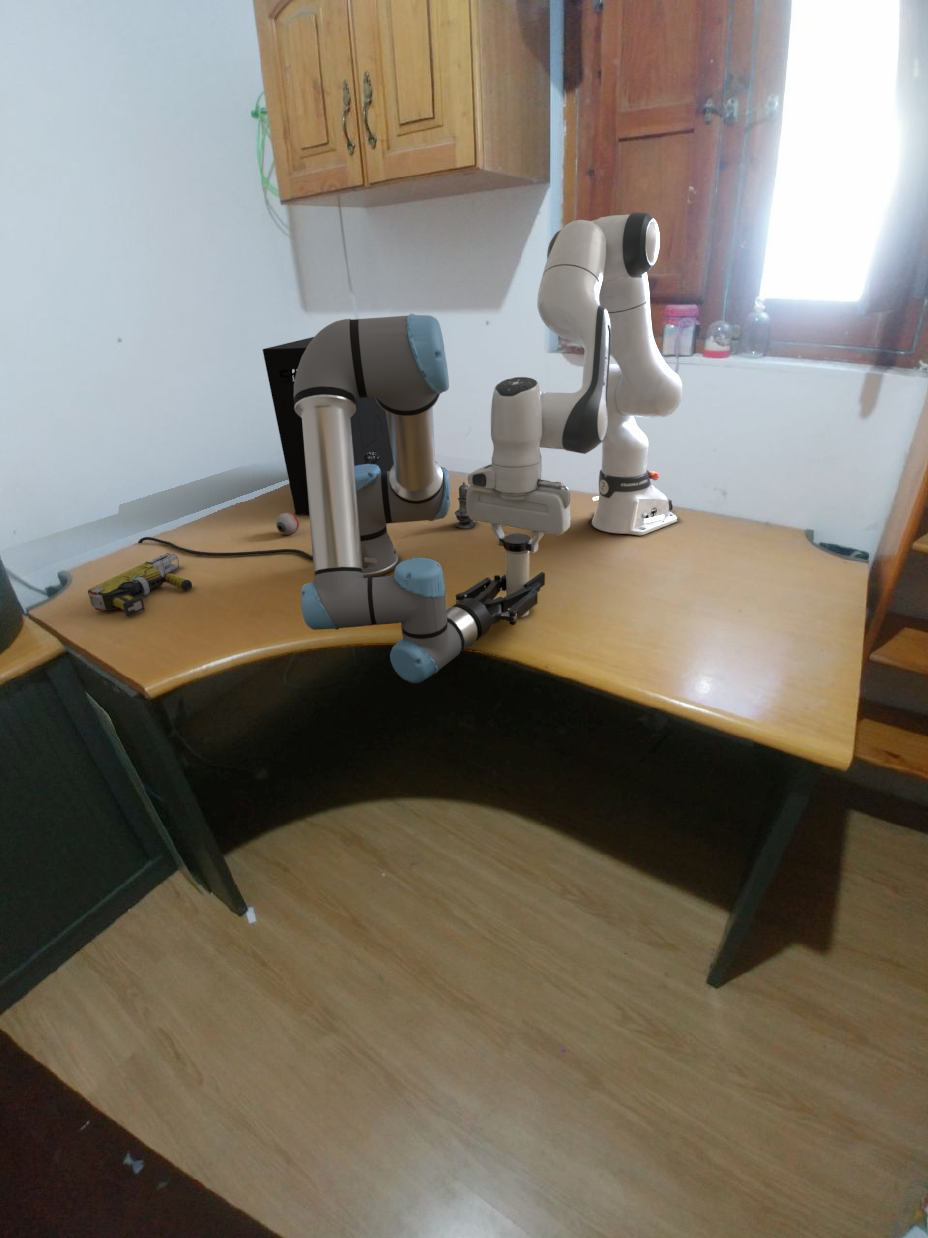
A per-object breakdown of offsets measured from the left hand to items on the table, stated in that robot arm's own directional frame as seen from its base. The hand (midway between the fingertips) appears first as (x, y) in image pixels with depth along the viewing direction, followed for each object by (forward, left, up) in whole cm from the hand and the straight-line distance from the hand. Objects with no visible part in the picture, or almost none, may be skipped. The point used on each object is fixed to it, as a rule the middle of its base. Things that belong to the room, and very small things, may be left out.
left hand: (531, 575), depth 122 cm
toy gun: (-75, -41, -6) cm, 85 cm away
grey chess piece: (-38, +28, -6) cm, 47 cm away
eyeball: (-76, -2, -6) cm, 76 cm away
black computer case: (-86, +31, -6) cm, 92 cm away
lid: (0, -5, +10) cm, 11 cm away
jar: (0, -5, -6) cm, 8 cm away
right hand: (0, -5, +8) cm, 10 cm away
